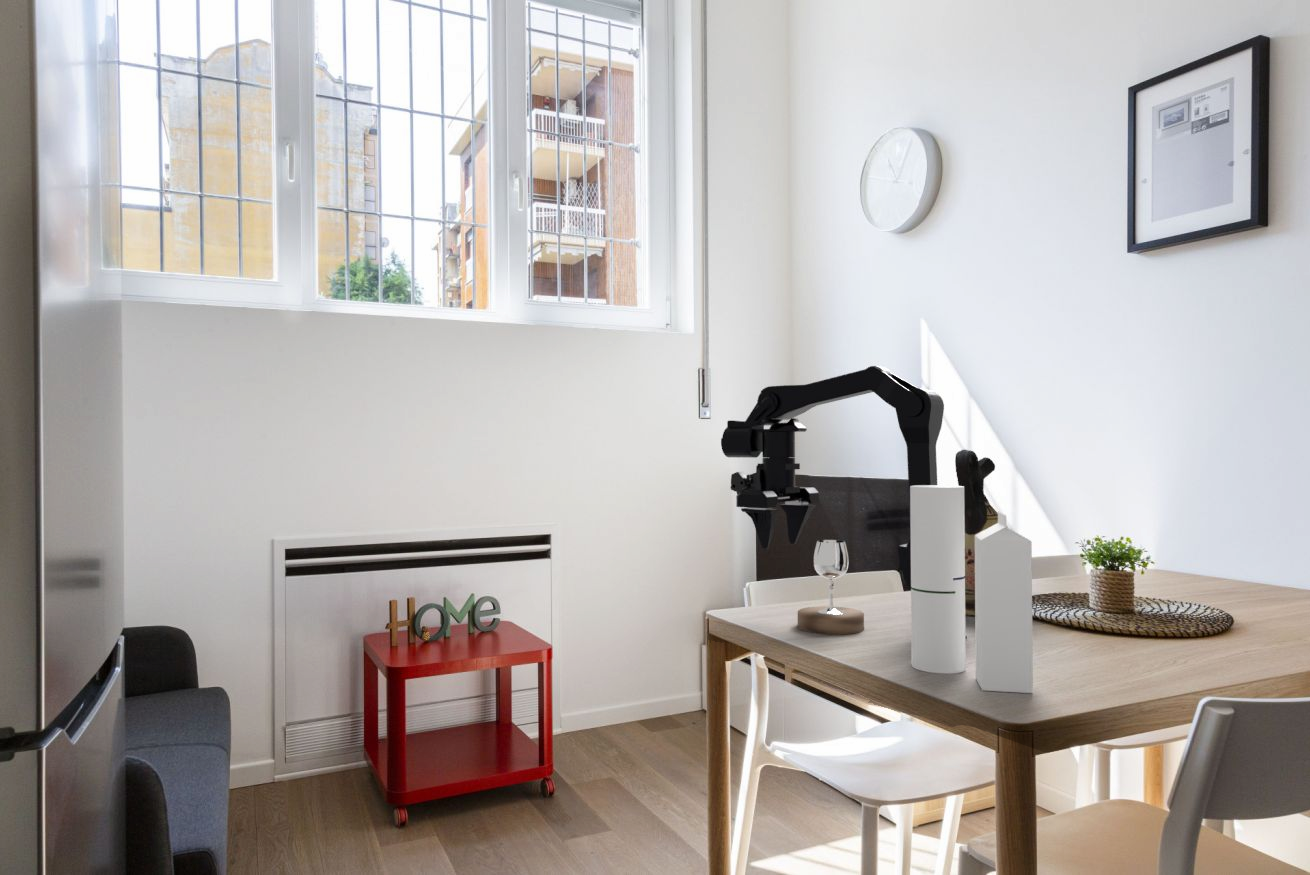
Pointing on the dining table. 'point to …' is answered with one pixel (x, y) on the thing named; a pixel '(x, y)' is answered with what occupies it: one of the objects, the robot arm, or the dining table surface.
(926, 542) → the cylindrical container
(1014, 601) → the milk
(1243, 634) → the dining table surface
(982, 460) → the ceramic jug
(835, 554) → the wineglass
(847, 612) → the walnut riser
